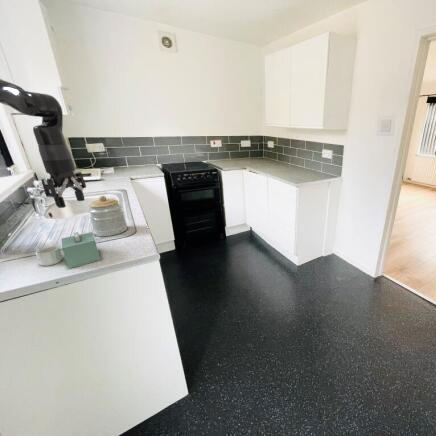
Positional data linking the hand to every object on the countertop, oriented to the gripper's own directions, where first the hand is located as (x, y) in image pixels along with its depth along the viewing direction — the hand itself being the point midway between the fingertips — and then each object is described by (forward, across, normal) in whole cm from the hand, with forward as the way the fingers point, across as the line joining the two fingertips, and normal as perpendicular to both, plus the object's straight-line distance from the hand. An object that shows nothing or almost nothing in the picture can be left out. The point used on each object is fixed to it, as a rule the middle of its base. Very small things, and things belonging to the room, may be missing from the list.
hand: (72, 204), depth 88 cm
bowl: (+21, +5, -9) cm, 23 cm away
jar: (+21, -24, -6) cm, 32 cm away
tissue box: (+21, +3, +1) cm, 21 cm away
